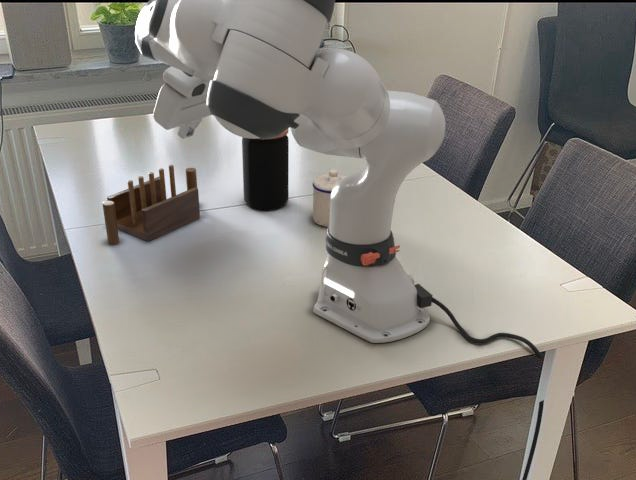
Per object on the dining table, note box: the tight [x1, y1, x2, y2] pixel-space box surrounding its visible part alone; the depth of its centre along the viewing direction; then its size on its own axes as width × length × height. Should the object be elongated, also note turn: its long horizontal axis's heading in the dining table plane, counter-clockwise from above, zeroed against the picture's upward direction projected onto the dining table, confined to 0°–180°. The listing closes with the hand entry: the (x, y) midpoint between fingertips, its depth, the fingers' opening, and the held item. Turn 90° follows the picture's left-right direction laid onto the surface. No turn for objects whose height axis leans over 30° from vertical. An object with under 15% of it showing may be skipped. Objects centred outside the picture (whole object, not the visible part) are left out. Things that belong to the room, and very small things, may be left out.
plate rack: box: [106, 164, 201, 242], centre depth 168 cm, size 12×16×12 cm
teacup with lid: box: [312, 169, 346, 228], centre depth 171 cm, size 12×9×12 cm
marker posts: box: [101, 167, 198, 246], centre depth 168 cm, size 2×27×9 cm, turn 143°
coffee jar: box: [241, 128, 290, 211], centre depth 176 cm, size 11×11×18 cm
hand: (184, 135), depth 151 cm, fingers closed
